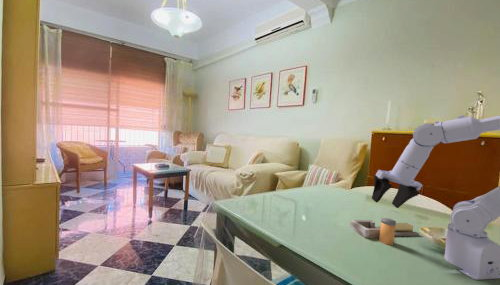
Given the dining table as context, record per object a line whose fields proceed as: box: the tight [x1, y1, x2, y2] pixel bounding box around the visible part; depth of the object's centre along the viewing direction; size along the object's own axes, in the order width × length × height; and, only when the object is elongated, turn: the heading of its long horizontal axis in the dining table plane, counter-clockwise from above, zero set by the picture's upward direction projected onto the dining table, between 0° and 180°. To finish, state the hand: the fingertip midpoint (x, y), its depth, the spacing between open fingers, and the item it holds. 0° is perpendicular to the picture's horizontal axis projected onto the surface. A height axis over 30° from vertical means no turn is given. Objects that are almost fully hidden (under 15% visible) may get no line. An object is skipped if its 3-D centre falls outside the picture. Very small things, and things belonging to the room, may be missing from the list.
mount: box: [349, 219, 423, 239], centre depth 75 cm, size 8×21×3 cm, turn 101°
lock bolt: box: [395, 222, 414, 232], centre depth 76 cm, size 2×8×2 cm, turn 101°
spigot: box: [378, 217, 397, 246], centre depth 68 cm, size 4×4×7 cm
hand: (384, 203), depth 71 cm, fingers open, 7 cm apart
